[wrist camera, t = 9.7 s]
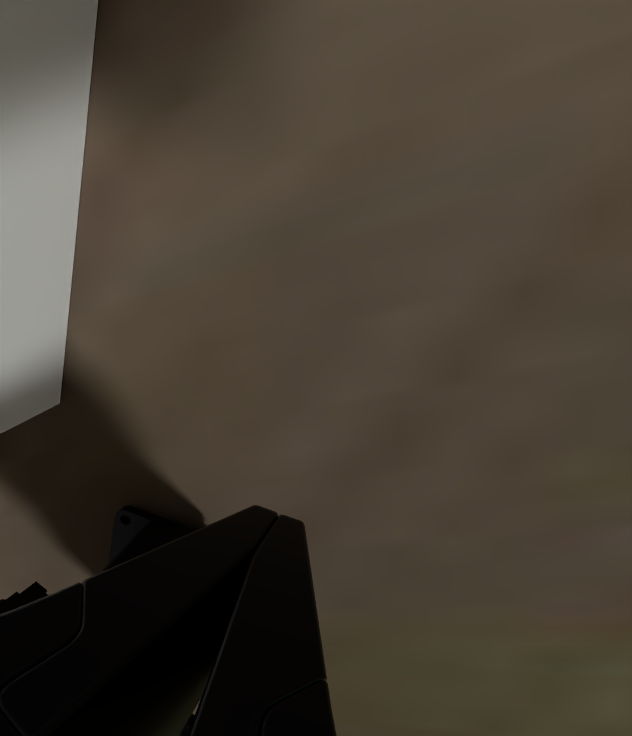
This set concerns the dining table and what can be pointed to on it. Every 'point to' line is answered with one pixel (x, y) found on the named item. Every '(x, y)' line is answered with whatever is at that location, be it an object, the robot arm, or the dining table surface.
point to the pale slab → (39, 191)
